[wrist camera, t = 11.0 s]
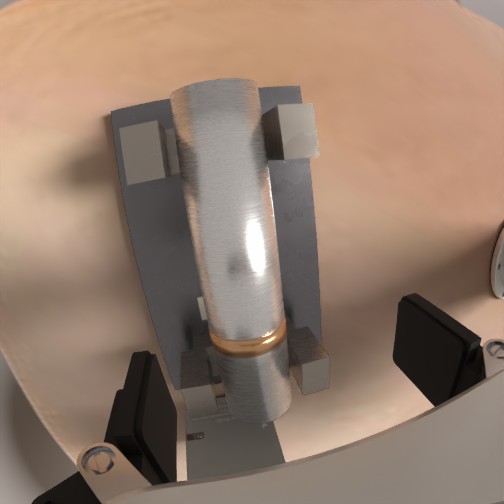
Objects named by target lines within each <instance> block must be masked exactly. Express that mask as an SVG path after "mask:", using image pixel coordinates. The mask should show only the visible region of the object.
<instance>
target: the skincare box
mask: <svg viewBox="0 0 504 504" xmlns="http://www.w3.org/2000/svg"><path fill="white" fill-rule="evenodd" d="M216 399H217V405H218V411H219V415H213V416H207V417H200V418H194V419H191V416H190V414H189V411H188V408H187V406H186V405H185V419H186V458H187V480H193V479H200V478H208V477H215V476H222V475H228V474H234V473H239V472H244V471H250V470H255V469H260V468H265V467H269V466H274V465H278V464H282V463H286V462H285V459H284V456H283V453H282V449H281V446H280V443H279V439H278V436H277V433H276V429H275V426H274V423H273V421H270V422H267V423H261V424H252V423H246V422H243V421H241V420H238V419H237V418H235V417H234V416H233V415H232V414H231V412H230V410H229V408H228V404H227V400H226V396H225V397H220V398H216Z"/></svg>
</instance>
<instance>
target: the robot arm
mask: <svg viewBox="0 0 504 504" xmlns="http://www.w3.org/2000/svg"><path fill="white" fill-rule="evenodd" d="M491 285H492V290H493V292H494V294H495V295H496V296H497V297H498V298H500V299H502V300H504V227H503V229H502V231H501V233H500V236H499V238H498V241H497V244H496V247H495V250H494V254H493V259H492V265H491ZM480 342H481V338H480V337H479V336H478V335H476V334H475V333H473V332H472V331H471V330H469V329H468V328H466V327H465V326H463V325H462V324H461V323H459V322H458V321H456V320H455V319H453V318H452V317H451V316H449V315H448V314H446V313H445V312H443V311H442V310H440V309H439V308H437V307H436V306H434V305H433V304H432V303H430V302H429V301H427V300H426V299H424V298H423V297H421V296H420V295H418V294H416V293H413V294H410V295H407V296H404V297H402V299H401V301H400V302H399V304H398V314H397V324H396V334H395V342H394V350H393V360H394V363H395V364H396V365H397V366H398V367H399V368H400V369H401V370H402V371H403V373H404V374H405V375H406V376H407V377H408V378H409V379H410V380H411V381H412V382H413V383H414V384H415V386H416V387H417V388H418V389H419V390H420V391H421V392H422V393H423V394H424V395H425V397H426V398H427V399H428V400H429V401H430V402H431V403H432V404H433V405H434V406H435V407H434V408H432V409H430V410H428V411H426V412H424V413H422V414H420V415H418V416H416V417H414V418H411V419H409V420H407V421H405V422H403V423H400V424H398V425H396V426H394V427H391V428H389V429H387V430H384V431H382V432H379V433H377V434H374V435H372V436H369V437H366V438H364V439H361V440H358V441H356V442H353V443H350V444H347V445H344V446H341V447H338V448H335V449H332V450H329V451H326V452H323V453H319V454H316V455H313V456H309V457H305V458H302V459H298V460H294V461H290V462H286V463H282V464H278V465H274V466H269V467H265V468H260V469H255V470H250V471H244V472H239V473H234V474H228V475H222V476H215V477H208V478H200V479H193V480H186V481H179V482H177V468H176V440H177V413H176V408H175V405H174V403H173V400H172V398H171V395H170V393H169V390H168V387H167V385H166V382H165V379H164V377H163V374H162V371H161V368H160V365H159V363H158V360H157V357H156V355H155V354H150V352H149V351H142V352H134V353H133V354H132V358H131V362H130V365H129V369H128V373H127V376H126V380H125V384H124V388H123V389H119V390H118V391H117V393H116V396H115V399H114V403H113V407H112V411H111V415H110V419H109V423H108V427H107V431H106V435H105V439H104V442H99V443H94V444H91V445H89V446H87V447H86V448H85V449H83V450H82V451H81V453H80V454H79V456H78V458H77V467H78V470H79V471H78V472H77V473H75V474H74V475H72V476H70V477H69V478H67V479H66V480H64V481H63V482H61V483H60V484H58V485H56V486H55V487H53V488H52V489H50V490H48V491H47V492H45V493H43V494H42V495H40V496H38V497H37V498H36V499H35V500H34V501H33V502H32V504H504V340H502V339H491V340H488V341H486V342H485V343H484V345H483V347H482V346H480Z"/></svg>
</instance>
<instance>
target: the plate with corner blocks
mask: <svg viewBox="0 0 504 504" xmlns="http://www.w3.org/2000/svg"><path fill="white" fill-rule="evenodd" d="M258 90H259V98H260V105H261V112H262V120H263V127H264V135H265V143H266V150H267V158H268V166H269V175H270V183H271V191H272V200H273V208H274V217H275V226H276V235H277V245H278V254H279V264H280V273H281V283H282V293H283V304H284V313H285V317H286V328H287V336H286V337H287V348H288V360H289V368H290V369H291V371H292V373H293V375H294V377H295V379H296V381H297V383H298V385H299V387H300V389H301V391H302V393H303V395H307V394H310V393H314V392H317V391H320V390H324V389H327V388H329V373H330V357H329V355H328V354H327V352H326V351H325V350H324V348H323V347H322V345H321V316H320V290H319V270H318V253H317V238H316V225H315V212H314V201H313V190H312V180H311V170H310V161H309V158H310V157H320V156H319V147H318V139H317V131H316V123H315V115H314V108H313V103H308V104H302V98H301V91H300V86H284V87H264V88H258ZM111 118H112V127H113V136H114V143H115V151H116V158H117V165H118V171H119V177H120V183H121V189H122V195H123V200H124V206H125V211H126V216H127V221H128V226H129V231H130V235H131V240H132V244H133V249H134V253H135V257H136V262H137V266H138V270H139V274H140V278H141V282H142V285H143V289H144V293H145V297H146V300H147V304H148V307H149V311H150V314H151V318H152V321H153V324H154V328H155V331H156V334H157V337H158V341H159V344H160V347H161V350H162V353H163V356H164V359H165V362H166V365H167V368H168V371H169V374H170V376H171V379H172V382H173V385H174V388H175V390H180V389H181V392H182V395H183V398H184V400H185V403H186V406H187V408H188V411H189V414H190V416H191V419H194V418H200V417H207V416H213V415H219V411H218V405H217V399H216V392H215V386H214V384H217V383H222V380H221V376H220V372H219V368H218V364H217V360H216V355H215V351H214V347H213V345H212V341H211V337H210V333H209V328H208V320H207V316H206V311H205V306H204V302H203V297H202V292H201V287H200V282H199V277H198V272H197V267H196V262H195V257H194V251H193V246H192V240H191V235H190V229H189V224H188V218H187V212H186V206H185V200H184V194H183V187H182V181H181V174H180V168H179V161H178V154H177V147H176V140H175V132H174V124H173V116H172V108H171V100H170V99H165V100H160V101H154V102H149V103H145V104H140V105H135V106H131V107H126V108H122V109H118V110H114V111H111Z"/></svg>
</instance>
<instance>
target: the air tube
mask: <svg viewBox="0 0 504 504" xmlns="http://www.w3.org/2000/svg"><path fill="white" fill-rule="evenodd" d="M170 100H171V108H172V116H173V124H174V132H175V140H176V147H177V154H178V161H179V168H180V174H181V181H182V187H183V194H184V200H185V206H186V212H187V218H188V224H189V229H190V235H191V240H192V246H193V251H194V257H195V262H196V267H197V272H198V277H199V282H200V287H201V292H202V297H203V302H204V306H205V311H206V316H207V320H208V328H209V333H210V337H211V341H212V345H213V347H214V351H215V355H216V360H217V364H218V368H219V372H220V376H221V380H222V384H223V388H224V392H225V396H226V400H227V404H228V408H229V410H230V412H231V414H232V415H233V416H234V417H235V418H237V419H238V420H241V421H243V422H246V423H252V424H261V423H267V422H270V421H273V420H276V419H277V418H279V417H281V416H282V415H283V414H285V413H286V411H287V410H288V409H289V407H290V405H291V400H292V398H291V385H290V372H289V360H288V348H287V337H286V336H287V328H286V317H285V313H284V304H283V293H282V283H281V273H280V264H279V254H278V245H277V235H276V226H275V217H274V208H273V200H272V191H271V183H270V175H269V166H268V158H267V150H266V143H265V135H264V127H263V120H262V112H261V105H260V98H259V90H258V84H257V83H256V82H255V81H252V80H248V79H238V78H229V79H216V80H209V81H204V82H199V83H195V84H191V85H188V86H185V87H182V88H180V89H178V90H176V91H174V92H173V93H172V94H171V95H170Z"/></svg>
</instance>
